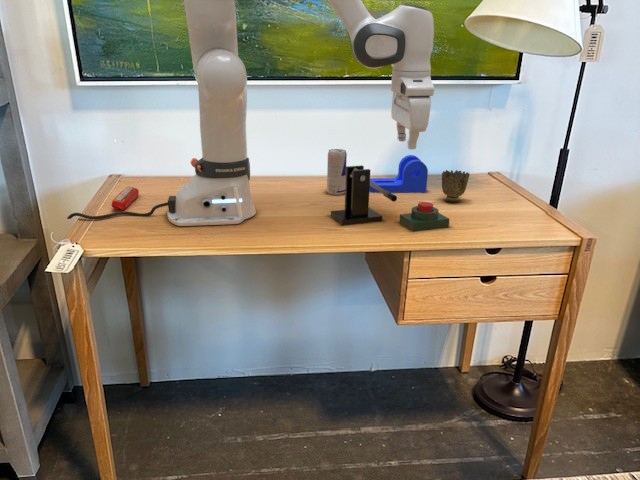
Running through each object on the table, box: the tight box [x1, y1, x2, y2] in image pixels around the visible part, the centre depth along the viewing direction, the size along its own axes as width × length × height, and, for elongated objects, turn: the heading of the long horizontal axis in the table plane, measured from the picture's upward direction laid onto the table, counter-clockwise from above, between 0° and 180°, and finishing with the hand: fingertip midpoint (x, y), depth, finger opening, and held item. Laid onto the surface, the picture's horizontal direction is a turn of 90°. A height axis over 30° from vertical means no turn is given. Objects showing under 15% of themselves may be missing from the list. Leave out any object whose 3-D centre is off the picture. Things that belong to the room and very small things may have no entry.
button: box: [417, 201, 434, 212], centre depth 143 cm, size 4×4×2 cm
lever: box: [350, 168, 398, 202], centre depth 147 cm, size 13×5×2 cm
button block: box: [398, 205, 450, 232], centre depth 144 cm, size 10×7×4 cm
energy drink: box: [326, 148, 348, 196], centre depth 168 cm, size 5×5×12 cm
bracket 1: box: [330, 164, 383, 226], centre depth 146 cm, size 11×8×13 cm
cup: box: [441, 169, 470, 203], centre depth 162 cm, size 8×7×8 cm
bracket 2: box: [369, 154, 429, 194], centre depth 173 cm, size 18×8×9 cm, turn 95°
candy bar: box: [111, 186, 140, 211], centre depth 158 cm, size 16×4×3 cm, turn 0°
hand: (406, 144), depth 142 cm, fingers open, 8 cm apart
